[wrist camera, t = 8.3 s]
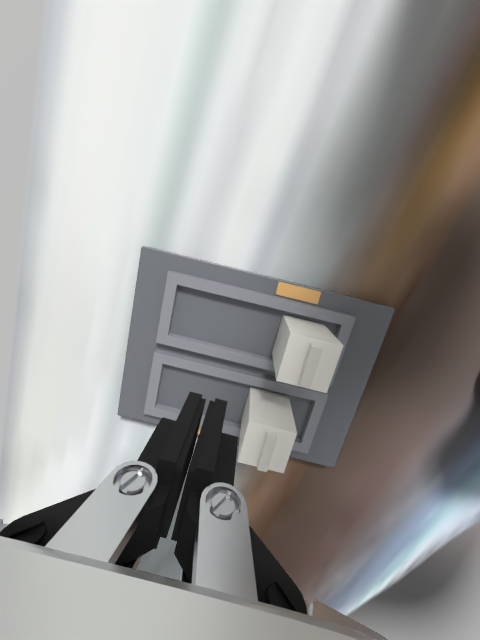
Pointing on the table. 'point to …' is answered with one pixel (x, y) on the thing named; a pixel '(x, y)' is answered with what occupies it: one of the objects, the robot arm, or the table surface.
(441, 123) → the table surface
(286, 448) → the tab
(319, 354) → the tab
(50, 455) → the table surface
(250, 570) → the robot arm
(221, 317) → the switch bank
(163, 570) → the table surface
